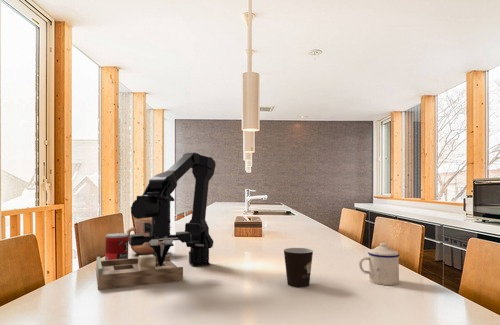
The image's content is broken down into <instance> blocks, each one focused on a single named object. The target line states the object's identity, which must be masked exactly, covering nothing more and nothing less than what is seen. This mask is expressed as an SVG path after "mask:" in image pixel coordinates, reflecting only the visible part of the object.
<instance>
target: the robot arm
mask: <svg viewBox="0 0 500 325" xmlns="http://www.w3.org/2000/svg"><path fill="white" fill-rule="evenodd" d="M216 165H217V164H216V161H215V160H214V158H213V157H212V156H206V155H203V154H200V153H198V152H186V153H184V154H183V155H182V157H180V158H179V159H178V160H177V161H176V162H175V163H174V164H173V165H172V166H170V168H168V169H166V171H163V172H159V173H158V174H155V175H154V176H152V177H151V178H150V179H149V181H148V184H147V186H146V188H145V190H144V191H143V193H142V195H139V194H138V195H136V199H135V200H134V201H133V202H132V203H131V206H130V214H131V215H132V217H133V218H135V219H136V220H143V219H149V218H151V219H152V221H151V224H150V223H144V227H143V230H144V233H149V236H144V235H143V234H138V233H135V234H134V233H133V234H131V233H130V236H129V241H128V245H129V246H130V247H131V246H140V245H143V244H144V242H148V246H149V247H151V248H153V250H154V252H155V255H154V256H155V257H156V258H157V261H158V264H159V266H162V264H163V262H164V259H165V257H166V256H167V254H168V252H169V250H170V249H171V247H174V243H173V242H174V241H180V242H181V243H185V246H186V248H190V250H189V251H188V263H189V264H190V265H191V266H192V267H201V266H210V265H211V263H210V249H212V248H214V247H213V246H214V239H213V238H212V236H211V235H210V234H209V233H210V232H209V231H210V230H209V225H208V222H207V220H206V217H207V216H206V213H207V206H208V205H207V204H208V193H209V185H210V184H209V183H210V180H211V179H212V177H213V176H214V175H215V169H216ZM190 169H191V171H192V172H191V173H192V175H193V177H194V180H195V182H194V193H193V203H192V212H191V213H192V214H191V219H190V220H189V222H185V225H184V231H176V232H175V234H171V228H170V227H171V202H175V198H174V197H173V196H172V195H171V194H172V193H174V191H175V189H176V188H177V187H178V181H179V180H180V179H181V178H182V177H183V176H184V175H185V174H186V173H187V172H188V171H189V170H190ZM159 241H163V242H161V250H160V245H159V244H158V243H159Z"/></svg>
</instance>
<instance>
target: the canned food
mask: <svg viewBox="0 0 500 325" xmlns="http://www.w3.org/2000/svg"><path fill="white" fill-rule="evenodd" d="M104 248H105V249H104V252H105V255H104V260H116V259H129V236H128V234H127V232H125V233H124V232H116V233H115V232H114V233H108V234H106V235H105V247H104Z"/></svg>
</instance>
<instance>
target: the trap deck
mask: <svg viewBox="0 0 500 325" xmlns="http://www.w3.org/2000/svg"><path fill="white" fill-rule="evenodd" d="M95 270H96V284H97V285H96V286H97V290H98V291H99V290H100V291H101V290H106V289H107V290H108V289H117V288H128V287H136V286H137V287H138V286H145V285H146V286H147V285H156V284H165V283H175V282H176V283H177V282H183V281H184V267H183V266H177V265H176V264H175V263H173V261H172V260H171V255H166V257H165V259H164V262H163V264H162V266H159V264H158V261H157V258H156V265H155V269H152V270H141V271H138V257H132V258H129V257H128V259H116V260H105V259H103V260H101V256H96V267H95Z"/></svg>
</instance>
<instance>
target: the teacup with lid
mask: <svg viewBox="0 0 500 325" xmlns="http://www.w3.org/2000/svg"><path fill="white" fill-rule="evenodd" d="M387 245H388V244H387V243H386V242H380V243H379V246H376V247H375V248H372V249H369V250H368V252H367V254H368V256H363V257H361V259H359V261H358V267H359V269H360V271H361V272H362V273H363V274H366V275H368V280H369V281H370V282H371V283H373V284H375V285H382V286H396V285H398V284H399V283H400V268H399V267H400V266H399V265H400V263H399V262H400V261H399V260H400V259H399V257H400V252H398V251H397V250H396V249H395V250H394V249H393V248H391V247H390V246H387ZM364 261H368V270H364V268H363V265H362V264H363V262H364Z"/></svg>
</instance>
